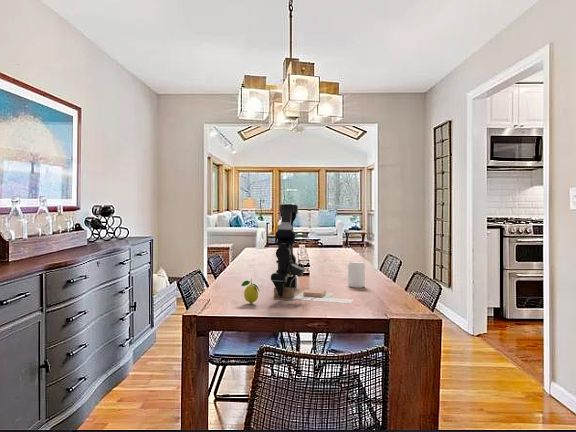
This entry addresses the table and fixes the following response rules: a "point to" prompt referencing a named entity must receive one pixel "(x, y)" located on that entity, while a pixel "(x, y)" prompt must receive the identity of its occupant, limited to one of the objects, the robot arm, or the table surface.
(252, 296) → the lemon
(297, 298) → the turner
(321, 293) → the tile
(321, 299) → the tool pad
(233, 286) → the table surface
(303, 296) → the felt mat
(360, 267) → the grey cylinder
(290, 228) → the robot arm
